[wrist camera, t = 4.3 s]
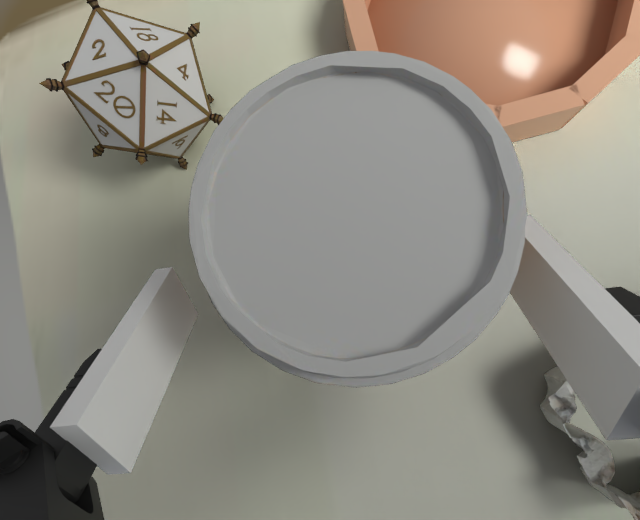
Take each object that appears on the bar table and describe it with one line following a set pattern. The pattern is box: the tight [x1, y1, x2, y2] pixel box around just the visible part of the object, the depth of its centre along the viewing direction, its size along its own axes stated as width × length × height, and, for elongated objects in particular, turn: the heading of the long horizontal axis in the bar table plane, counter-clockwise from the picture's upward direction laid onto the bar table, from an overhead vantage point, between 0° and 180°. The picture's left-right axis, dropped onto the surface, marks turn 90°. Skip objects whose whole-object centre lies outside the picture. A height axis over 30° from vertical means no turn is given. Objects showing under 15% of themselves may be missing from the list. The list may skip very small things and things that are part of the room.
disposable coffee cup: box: [189, 51, 527, 388], centre depth 15 cm, size 10×10×12 cm
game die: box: [39, 0, 223, 170], centre depth 20 cm, size 9×8×10 cm
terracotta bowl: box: [343, 0, 640, 142], centre depth 20 cm, size 16×16×2 cm
